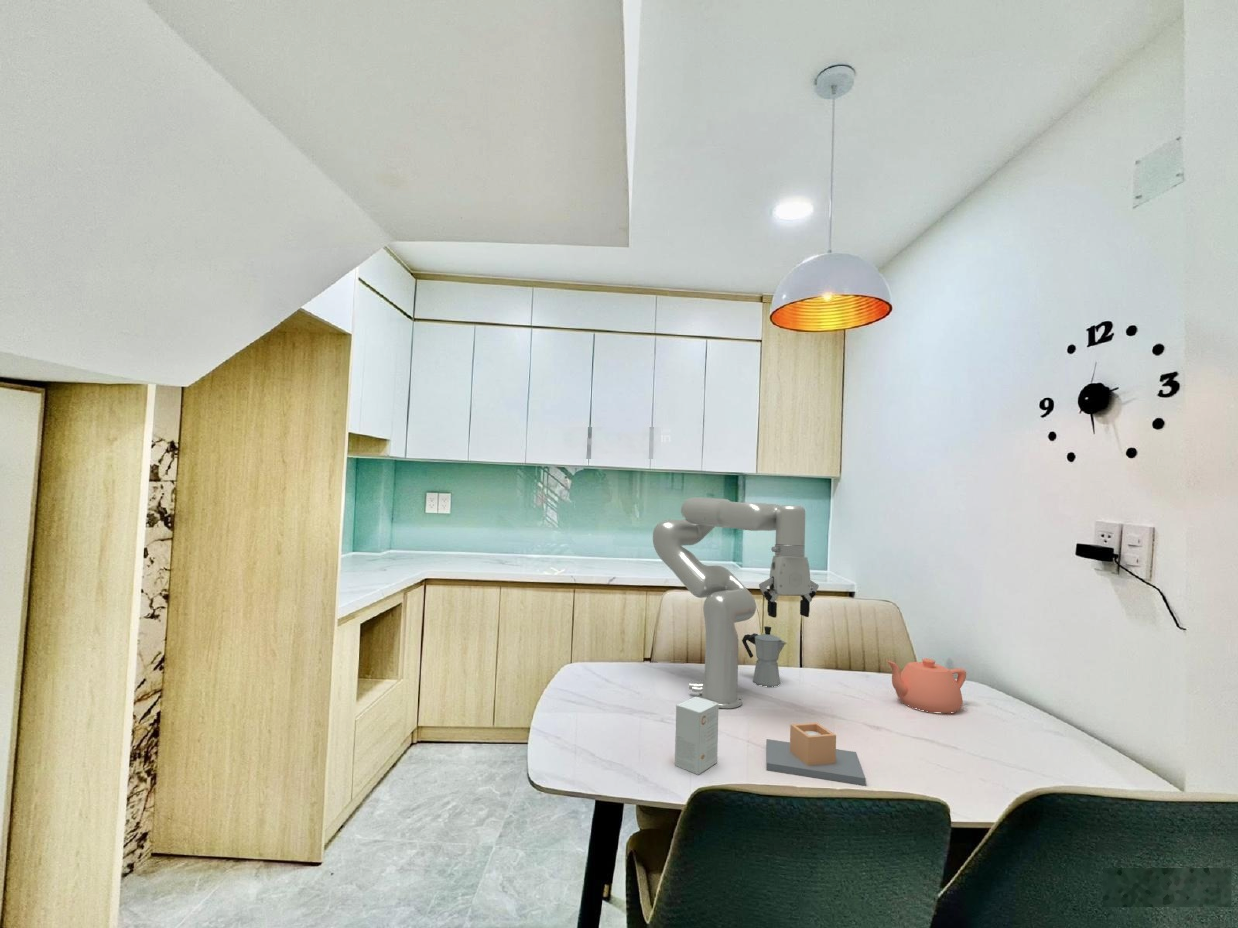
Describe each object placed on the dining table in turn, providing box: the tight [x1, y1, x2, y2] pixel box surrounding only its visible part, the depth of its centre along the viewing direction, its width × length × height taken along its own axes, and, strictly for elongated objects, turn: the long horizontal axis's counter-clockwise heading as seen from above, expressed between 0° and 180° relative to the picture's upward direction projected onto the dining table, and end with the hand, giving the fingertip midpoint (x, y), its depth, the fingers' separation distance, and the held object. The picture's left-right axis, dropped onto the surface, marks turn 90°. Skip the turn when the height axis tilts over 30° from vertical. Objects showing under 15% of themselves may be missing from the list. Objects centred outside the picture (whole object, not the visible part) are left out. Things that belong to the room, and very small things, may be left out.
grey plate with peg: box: [765, 731, 867, 787], centre depth 126 cm, size 20×13×6 cm, turn 75°
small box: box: [674, 696, 720, 775], centre depth 124 cm, size 8×6×13 cm
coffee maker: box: [741, 626, 788, 688], centre depth 183 cm, size 15×9×18 cm, turn 58°
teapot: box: [886, 658, 967, 714], centre depth 168 cm, size 25×17×13 cm
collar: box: [789, 722, 837, 766], centre depth 126 cm, size 7×7×6 cm
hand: (788, 616), depth 149 cm, fingers open, 9 cm apart
